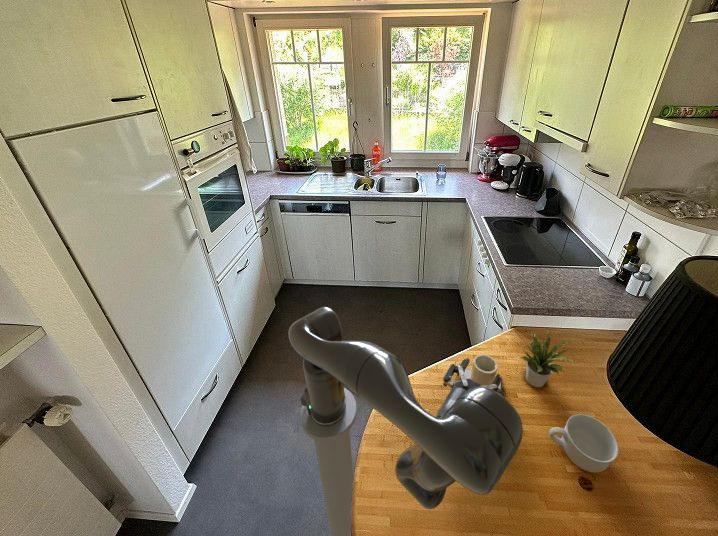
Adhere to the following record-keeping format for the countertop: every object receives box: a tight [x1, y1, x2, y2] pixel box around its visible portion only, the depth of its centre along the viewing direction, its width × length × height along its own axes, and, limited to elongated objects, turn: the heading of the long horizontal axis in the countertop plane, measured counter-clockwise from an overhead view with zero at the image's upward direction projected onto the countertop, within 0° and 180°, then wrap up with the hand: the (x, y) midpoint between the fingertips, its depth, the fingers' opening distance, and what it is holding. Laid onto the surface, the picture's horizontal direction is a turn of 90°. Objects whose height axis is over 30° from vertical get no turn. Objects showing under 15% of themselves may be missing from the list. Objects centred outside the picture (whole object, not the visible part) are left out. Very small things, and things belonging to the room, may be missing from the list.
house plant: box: [519, 329, 576, 388], centre depth 94 cm, size 14×14×16 cm
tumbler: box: [470, 353, 498, 386], centre depth 90 cm, size 6×6×10 cm
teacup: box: [548, 413, 619, 473], centre depth 78 cm, size 14×11×8 cm
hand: (482, 368), depth 88 cm, fingers open, 8 cm apart
